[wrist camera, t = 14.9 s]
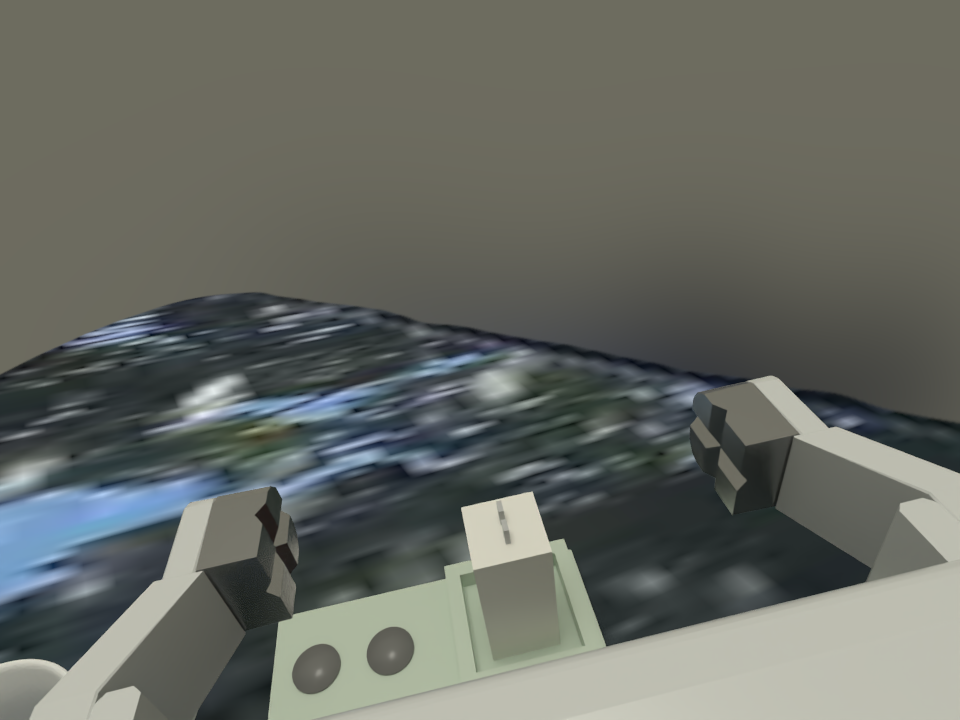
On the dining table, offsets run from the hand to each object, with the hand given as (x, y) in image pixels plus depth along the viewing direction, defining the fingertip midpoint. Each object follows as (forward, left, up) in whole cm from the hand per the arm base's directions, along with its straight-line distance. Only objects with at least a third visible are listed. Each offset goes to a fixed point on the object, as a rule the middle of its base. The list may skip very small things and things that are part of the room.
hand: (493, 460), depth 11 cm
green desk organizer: (-11, +10, -32) cm, 35 cm away
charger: (-5, +13, -30) cm, 33 cm away
